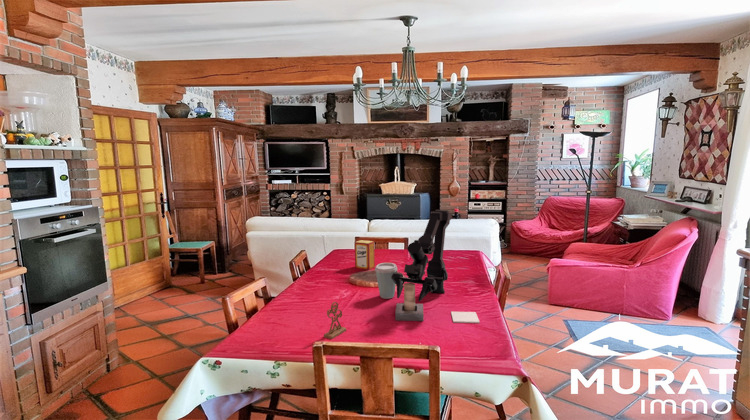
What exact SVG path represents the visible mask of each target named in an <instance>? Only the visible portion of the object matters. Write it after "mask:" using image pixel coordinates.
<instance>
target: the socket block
mask: <svg viewBox="0 0 750 420" xmlns="http://www.w3.org/2000/svg"><path fill="white" fill-rule="evenodd" d="M394 313H395V321H404V322H407V321H409V322H413V321H414V322H424V317H425V316H424V315H425V314H424V303H415V311H404V302H403V303H402V302H401V303H400V302H397V303H396V307H395V312H394Z"/></svg>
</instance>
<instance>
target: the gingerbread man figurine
mask: <svg viewBox="0 0 750 420" xmlns="http://www.w3.org/2000/svg"><path fill="white" fill-rule="evenodd" d="M338 311H339V313H337V312H338ZM331 314H332V315H333V316H330V315H331ZM326 316H327V317H328V318H330V319H331V324H330V327H329V331H327V332H326V333H324V334H323V338H326V339H329V340H333V339H335V338H336V337H338V336H340V335H342V334H343V333H345V332H346V331H347V327H345V326H342V325H341V323H340V320H339V319H340V318H342V317H343V312H342V310H341V309H339V303H338V302H337V301H333V302H331V305H330V309H328V310H327V311H326ZM335 322H337V323H335ZM337 324H338V325H337Z"/></svg>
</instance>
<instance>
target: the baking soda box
mask: <svg viewBox="0 0 750 420" xmlns="http://www.w3.org/2000/svg"><path fill="white" fill-rule="evenodd" d="M375 258H376V257H375V241H374V240H373V241H372V240H364V239H363V240H362V239H359V240H357V241H354V268H355V269H359V270H365V271H370V270H373V269H375V267H376V265H375V264H376V263H375Z"/></svg>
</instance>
